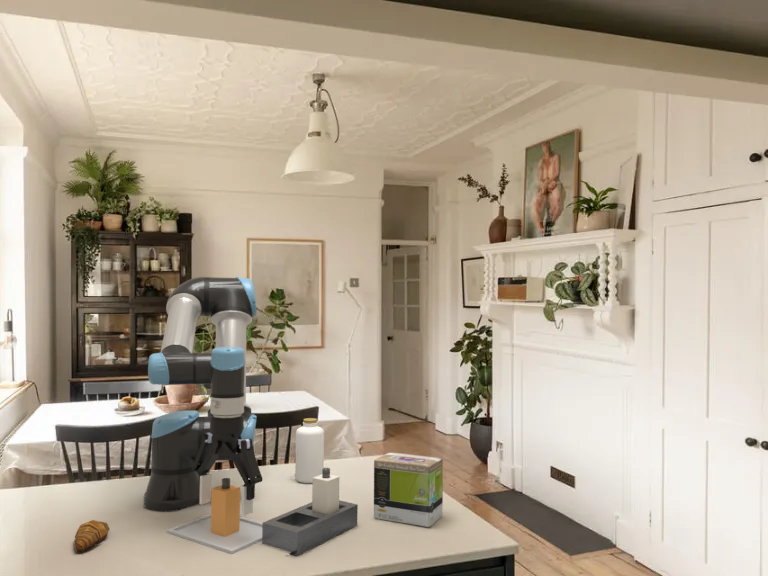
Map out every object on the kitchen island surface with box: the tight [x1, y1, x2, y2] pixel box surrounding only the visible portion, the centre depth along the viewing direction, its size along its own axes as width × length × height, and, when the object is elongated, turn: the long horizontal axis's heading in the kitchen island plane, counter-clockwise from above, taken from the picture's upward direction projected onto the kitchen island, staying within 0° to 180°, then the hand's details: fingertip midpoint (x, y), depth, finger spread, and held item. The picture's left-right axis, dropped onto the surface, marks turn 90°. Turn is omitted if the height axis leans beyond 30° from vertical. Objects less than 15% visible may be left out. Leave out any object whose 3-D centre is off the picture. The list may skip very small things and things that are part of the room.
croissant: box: [73, 519, 110, 554], centre depth 142 cm, size 14×7×5 cm, turn 3°
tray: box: [165, 513, 264, 555], centre depth 147 cm, size 21×16×1 cm
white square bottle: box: [311, 467, 340, 514], centre depth 152 cm, size 4×4×12 cm
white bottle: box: [294, 417, 325, 484], centre depth 190 cm, size 8×8×18 cm
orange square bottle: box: [210, 477, 241, 537], centre depth 147 cm, size 4×4×12 cm
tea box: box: [373, 451, 444, 528], centre depth 160 cm, size 15×10×15 cm, turn 65°
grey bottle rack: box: [261, 499, 359, 557], centre depth 147 cm, size 10×22×5 cm, turn 147°
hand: (225, 508), depth 147 cm, fingers open, 13 cm apart
